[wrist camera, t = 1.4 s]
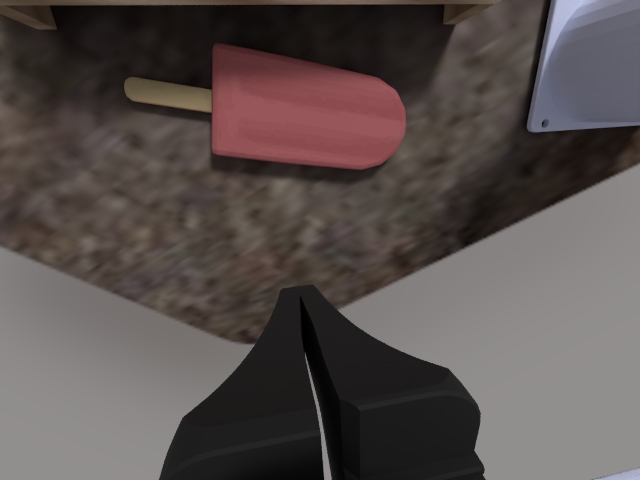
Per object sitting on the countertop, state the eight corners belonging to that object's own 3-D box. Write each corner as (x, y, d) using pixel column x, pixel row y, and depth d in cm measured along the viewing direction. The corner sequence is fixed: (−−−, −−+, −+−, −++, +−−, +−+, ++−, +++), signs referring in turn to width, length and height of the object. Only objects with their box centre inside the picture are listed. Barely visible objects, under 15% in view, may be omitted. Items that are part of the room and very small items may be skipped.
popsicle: (112, 19, 13) (418, 80, 16) (127, 30, 15) (406, 83, 18) (122, 144, 15) (396, 178, 18) (135, 142, 16) (386, 174, 19)
